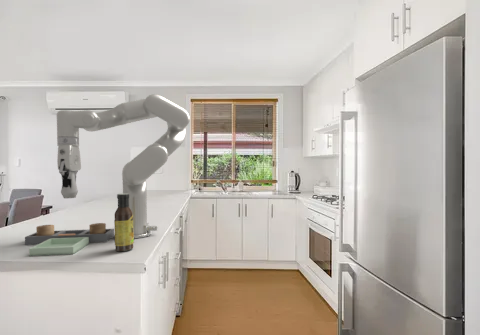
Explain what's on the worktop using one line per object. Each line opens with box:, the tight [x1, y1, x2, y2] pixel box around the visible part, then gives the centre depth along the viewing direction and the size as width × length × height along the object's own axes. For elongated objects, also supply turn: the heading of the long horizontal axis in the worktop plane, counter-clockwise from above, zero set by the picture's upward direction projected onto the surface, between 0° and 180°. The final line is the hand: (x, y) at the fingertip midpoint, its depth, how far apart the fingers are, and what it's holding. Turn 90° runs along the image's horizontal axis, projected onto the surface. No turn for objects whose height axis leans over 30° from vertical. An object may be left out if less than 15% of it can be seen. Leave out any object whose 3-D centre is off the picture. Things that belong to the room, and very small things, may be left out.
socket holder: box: [24, 228, 115, 246], centre depth 124 cm, size 30×10×3 cm, turn 96°
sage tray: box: [28, 237, 90, 257], centre depth 111 cm, size 14×14×2 cm
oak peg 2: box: [89, 222, 107, 234], centre depth 125 cm, size 6×6×6 cm
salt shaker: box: [60, 169, 79, 199], centre depth 122 cm, size 6×6×13 cm
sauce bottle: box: [113, 193, 135, 253], centre depth 109 cm, size 6×6×20 cm
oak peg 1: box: [35, 224, 55, 236], centre depth 123 cm, size 6×6×6 cm
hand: (69, 188), depth 122 cm, fingers closed on salt shaker, 3 cm apart
